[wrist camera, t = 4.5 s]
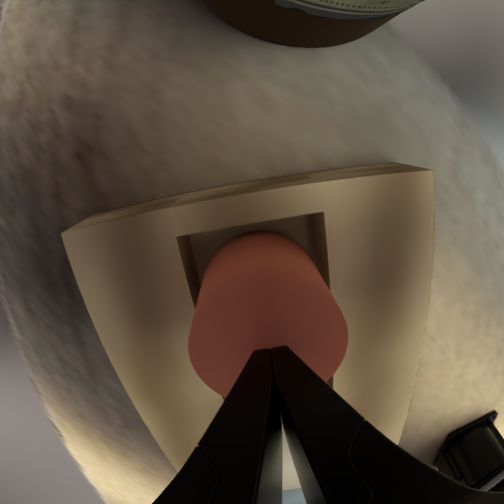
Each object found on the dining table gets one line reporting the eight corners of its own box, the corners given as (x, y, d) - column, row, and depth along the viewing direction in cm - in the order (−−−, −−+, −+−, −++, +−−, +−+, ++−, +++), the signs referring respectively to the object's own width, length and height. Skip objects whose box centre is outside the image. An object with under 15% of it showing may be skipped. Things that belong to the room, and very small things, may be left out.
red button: (310, 221, 11) (346, 264, 7) (319, 322, 12) (347, 390, 8) (191, 241, 11) (167, 293, 7) (216, 339, 12) (209, 412, 8)
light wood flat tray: (397, 162, 13) (433, 170, 10) (378, 439, 19) (389, 467, 16) (93, 214, 13) (60, 233, 10) (200, 468, 20) (198, 498, 17)
